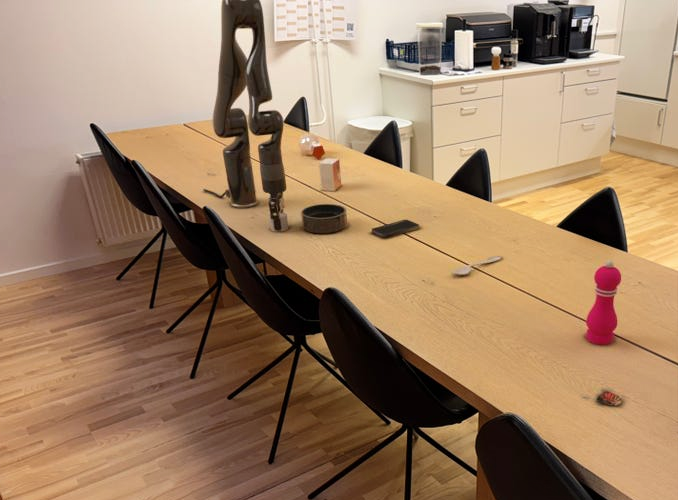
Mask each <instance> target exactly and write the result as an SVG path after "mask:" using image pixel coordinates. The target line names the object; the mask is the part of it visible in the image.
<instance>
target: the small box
mask: <svg viewBox="0 0 678 500" xmlns="http://www.w3.org/2000/svg"><path fill="white" fill-rule="evenodd" d="M340 163H341V162H340V159H339V158H330V157H329V158H325V159H323V160H322V161H320V162H319V163H318V168H319V179H320V188H321V191H329V192H336V190H338V188H340V187H342V175H341V164H340Z"/></svg>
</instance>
